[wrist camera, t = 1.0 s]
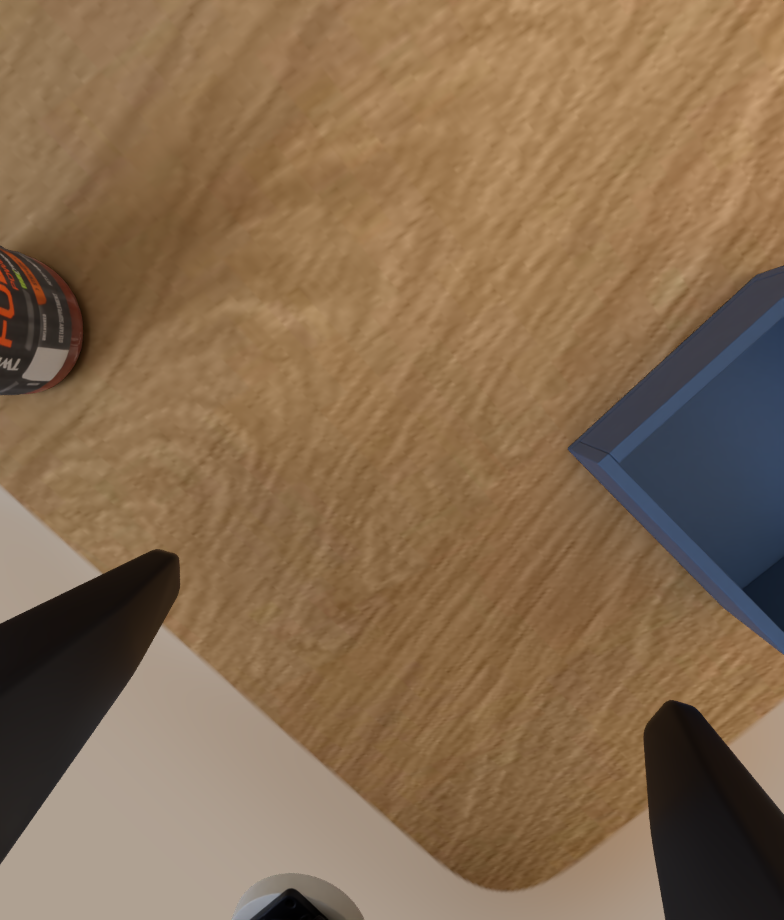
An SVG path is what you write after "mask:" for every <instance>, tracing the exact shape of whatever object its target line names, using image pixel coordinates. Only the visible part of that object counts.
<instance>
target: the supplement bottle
mask: <svg viewBox="0 0 784 920" xmlns="http://www.w3.org/2000/svg"><path fill="white" fill-rule="evenodd" d="M82 341H83V321H82V315H81V311H80V308H79V305H78V303H77V300H76V297H75V295H74V294H73V293H72V291H71V290H70V288H69V286H68V285H67V283H66V282H65V281H64V280H63V279H62V278H61V277H60V276H59V275H58V274H57V273H56V272H55V271H53V270H52V269H51V268H50V267H48V266H47V265H45V264H43V263H42V262H40V261H38V260H36V259H34V258H31V257H29V256H26V255H24V254H22V253H20V252H16V251H11V250H8V249H5V248H4V247H2V246H0V395H19V394H31V393H37V392H41V391H44V390H46V389H49V388H51V387H53V386H55V385H56V384H58V383H59V382H61V381H62V380H63V379H64V378H65V377H66V376H67V374H68V373H69V372H70V371H71V370H72V368H73V366H74V365H75V363H76V361H77V359H78V356H79V354H80V351H81V349H82Z"/></svg>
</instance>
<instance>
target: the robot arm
mask: <svg viewBox="0 0 784 920" xmlns="http://www.w3.org/2000/svg"><path fill="white" fill-rule="evenodd" d="M179 589H180V564H179V557H178V556H177V555H176V554H174V553H171V552H167V551H164V550H160V549H156V550H152V551H150V552H148V553H146V554H143V555H141V556H139V557H137V558H135V559H133V560H131V561H129V562H127V563H125V564H123V565H121V566H119V567H117V568H115V569H112V570H110V571H108V572H106V573H104V574H102V575H100V576H98V577H96V578H94V579H92V580H90V581H88V582H86V583H84V584H82V585H79V586H77V587H75V588H73V589H71V590H69V591H67V592H65V593H63V594H61V595H59V596H57V597H55V598H53V599H50V600H48V601H46V602H44V603H42V604H40V605H38V606H36V607H34V608H32V609H30V610H28V611H26V612H24V613H22V614H19V615H17V616H15V617H13V618H11V619H9V620H7V621H5V622H3V623H1V624H0V864H1V862H2V861H3V860H4V858H5V857H6V856H7V854H8V853H9V851H10V850H11V848H12V847H13V846H14V844H15V843H16V841H17V840H18V838H19V837H20V836H21V834H22V832H23V831H24V830H25V828H26V827H27V826H28V824H29V823H30V821H31V820H32V819H33V817H34V816H35V814H36V813H37V811H38V810H39V809H40V807H41V806H42V804H43V803H44V801H45V800H46V798H47V797H48V796H49V794H50V793H51V791H52V790H53V789H54V787H55V786H56V784H57V783H58V782H59V780H60V779H61V777H62V776H63V774H64V773H65V772H66V770H67V768H68V767H69V766H70V764H71V763H72V762H73V760H74V759H75V757H76V756H77V754H78V753H79V752H80V750H81V749H82V747H83V746H84V744H85V743H86V742H87V740H88V739H89V737H90V736H91V735H92V733H93V732H94V730H95V729H96V727H97V726H98V724H99V723H100V722H101V720H102V719H103V717H104V716H105V715H106V713H107V712H108V710H109V709H110V707H111V706H112V705H113V703H114V702H115V700H116V699H117V698H118V696H119V695H120V693H121V692H122V690H123V689H124V687H125V686H126V685H127V683H128V681H129V680H130V679H131V677H132V676H133V674H134V672H135V671H136V669H137V667H138V665H139V664H140V662H141V661H142V659H143V657H144V655H145V653H146V652H147V650H148V648H149V646H150V644H151V643H152V641H153V639H154V637H155V635H156V634H157V632H158V630H159V628H160V627H161V625H162V623H163V621H164V619H165V618H166V616H167V614H168V612H169V610H170V609H171V607H172V605H173V603H174V602H175V600H176V598H177V595H178V593H179ZM644 752H645V766H646V780H647V793H648V807H649V819H650V829H651V837H652V844H653V850H654V856H655V862H656V868H657V873H658V879H659V885H660V890H661V897H662V902H663V908H664V914H665V920H784V814H783V813H782V812H781V811H780V809H779V808H778V807H777V806H776V804H775V803H774V802H773V801H772V800H771V798H770V797H769V796H768V795H767V794H766V792H765V791H764V790H763V789H762V787H761V786H760V785H759V784H758V783H757V781H756V780H755V779H754V778H753V777H752V775H751V774H750V773H749V772H748V770H747V769H746V768H745V767H744V765H743V764H742V763H741V762H740V761H739V760H738V758H737V757H736V756H735V754H734V753H733V752H732V751H731V750H730V748H729V747H728V746H727V745H726V744H725V742H724V741H723V740H722V739H721V737H720V736H719V735H718V734H717V733H716V731H715V730H714V729H713V728H712V726H711V725H710V724H709V723H708V722H707V720H706V719H705V718H704V717H703V716H702V714H701V713H700V712H699V711H698V710H697V709H696V708H695V707H693V706H691V705H688V704H685V703H681V702H678V701H674V700H669V701H666V702H665V703H664V704H663V705H662V707H661V708H660V709H659V710H658V711H657V712H656V714H655V715H654V716H653V717H652V718H651V720H650V721H649V722H648V723H647V725H646V727H645V730H644ZM250 920H329V919H328V918H327V917H326V916H324V915H323V914H322V913H321V912H320V911H319V910H318V909H317V908H316V907H315V906H314V905H313V904H312V903H311V902H310V901H308V900H307V899H306V898H305V897H304V896H303V895H302V894H301V893H300V892H299V891H298V890H296V889H293V888H288V889H287V890H285V891H284V892H283V893H281V894H280V895H279V896H278V897H276V898H275V899H274V900H273V901H272V902H270V903H269V904H268V905H267V906H266V907H264V908H263V909H262V910H261V911H259V912H258V913H257V914H256V915H255V916H253V917H252V918H251V919H250Z"/></svg>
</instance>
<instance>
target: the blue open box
mask: <svg viewBox="0 0 784 920" xmlns="http://www.w3.org/2000/svg"><path fill="white" fill-rule="evenodd" d="M568 450H569V451H570V452H571V453H572V454H573V455H574V456H575V457H576V458H577V459H578V460H579V461H580V462H581V463H582V465H583V466H584V467H585V468H586V469H587V470H588V471H589V472H590V473H591V474H592V475H593V476H594V477H595V478H596V479H597V480H598V481H599V482H600V483H601V484H602V485H603V486H604V487H605V488H606V489H607V490H608V491H609V492H610V493H611V494H612V495H613V496H614V497H615V498H616V499H617V500H618V501H619V502H620V503H621V504H622V505H623V506H624V507H625V508H626V509H627V510H628V511H629V512H630V513H631V514H632V515H633V516H634V517H635V518H636V519H637V520H638V521H639V522H640V523H641V524H642V525H643V526H644V528H645V529H646V530H647V531H648V532H649V533H650V534H651V535H652V536H653V537H654V538H655V539H656V540H657V541H658V542H659V543H660V544H661V545H662V546H663V547H664V548H665V549H666V550H667V551H668V552H669V553H670V554H671V555H672V556H673V557H674V558H675V559H676V560H677V561H678V562H679V563H680V564H681V565H682V566H683V567H684V568H685V569H686V570H687V571H688V572H689V573H690V574H691V575H692V576H693V577H694V578H695V579H696V580H697V581H698V582H699V583H700V584H701V585H702V586H703V587H704V588H705V589H706V591H707V592H708V593H709V594H710V595H711V596H712V597H713V598H714V599H715V600H716V601H717V602H718V603H719V604H720V605H721V606H722V607H723V608H725V609H726V610H727V611H728V612H730V613H731V614H732V615H733V616H735V617H736V618H737V619H739V620H740V621H741V622H742V623H744V624H745V625H746V626H747V627H749V628H750V629H751V630H753V631H754V632H755V633H756V634H758V635H759V636H760V637H762V638H763V639H764V640H765V641H767V642H768V643H769V644H770V645H772V646H773V647H774V648H776V649H777V650H778V651H779V652H781V653H782V654H783V655H784V266H781V267H778V268H775V269H772V270H769V271H766V272H764V273H761V274H758V275H756V276H755V277H754V278H753V279H752V280H750V281H749V282H748V283H747V284H746V285H745V286H744V287H743V288H742V289H741V290H740V291H738V292H737V293H736V294H735V295H734V296H733V297H732V298H731V299H730V300H729V301H728V302H726V303H725V304H724V305H723V306H722V307H721V308H720V309H719V310H718V311H717V312H716V313H714V314H713V315H712V316H711V317H710V318H709V319H708V320H707V321H706V322H705V323H704V324H702V325H701V326H700V327H699V328H698V329H697V330H696V331H695V332H694V333H693V334H692V335H690V336H689V337H688V338H687V339H686V340H685V341H684V342H683V343H682V344H681V345H680V346H678V347H677V348H676V349H675V350H674V351H673V352H672V353H671V354H670V355H669V356H668V357H666V358H665V359H664V360H663V361H662V362H661V363H660V364H659V365H658V366H657V367H656V368H655V369H653V370H652V371H651V372H650V373H649V374H648V375H647V376H646V377H645V378H644V379H643V380H641V381H640V382H639V383H638V384H637V385H636V386H635V387H634V388H633V389H632V390H631V391H629V392H628V393H627V394H626V395H625V396H624V397H623V398H622V399H621V400H620V401H619V402H617V403H616V404H615V405H614V406H613V407H612V408H611V409H610V410H609V411H608V412H607V413H605V414H604V415H603V416H602V417H601V418H600V419H599V420H598V421H597V422H596V423H595V424H593V425H592V426H591V427H590V428H589V429H588V430H587V431H586V432H585V433H584V434H583V435H581V436H580V437H579V438H578V439H577V440H576V441H575V442H574V443H573V444H572V445H571V446H569V447H568Z"/></svg>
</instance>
